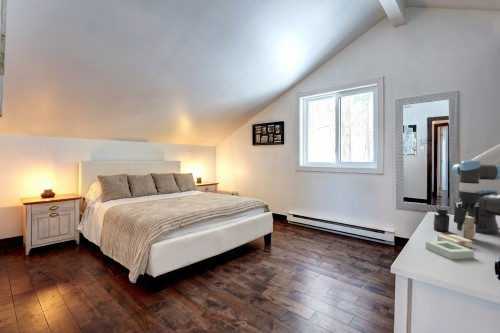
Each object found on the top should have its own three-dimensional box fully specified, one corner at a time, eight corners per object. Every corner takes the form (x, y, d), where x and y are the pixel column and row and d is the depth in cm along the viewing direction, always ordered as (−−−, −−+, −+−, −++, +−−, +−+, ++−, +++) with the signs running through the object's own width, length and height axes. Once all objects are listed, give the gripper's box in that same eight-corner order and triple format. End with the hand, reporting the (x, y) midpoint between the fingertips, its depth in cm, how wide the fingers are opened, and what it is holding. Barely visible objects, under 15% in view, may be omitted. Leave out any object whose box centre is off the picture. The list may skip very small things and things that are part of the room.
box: (468, 240, 126) (469, 218, 125) (458, 237, 129) (459, 216, 129) (473, 238, 128) (475, 217, 127) (463, 236, 132) (464, 215, 131)
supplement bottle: (451, 232, 137) (452, 210, 137) (437, 231, 139) (438, 210, 138) (444, 229, 144) (445, 208, 143) (431, 228, 145) (432, 207, 145)
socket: (446, 247, 115) (446, 240, 115) (474, 258, 103) (474, 250, 103) (425, 248, 113) (425, 241, 113) (451, 259, 101) (451, 252, 101)
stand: (453, 240, 124) (453, 234, 124) (472, 247, 116) (472, 240, 115) (437, 241, 123) (437, 235, 123) (455, 248, 114) (455, 241, 114)
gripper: (476, 190, 133) (473, 233, 134) (445, 190, 130) (443, 234, 131) (492, 192, 125) (489, 238, 127) (460, 192, 122) (457, 239, 123)
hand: (466, 236), depth 129 cm, fingers closed on box, 6 cm apart
